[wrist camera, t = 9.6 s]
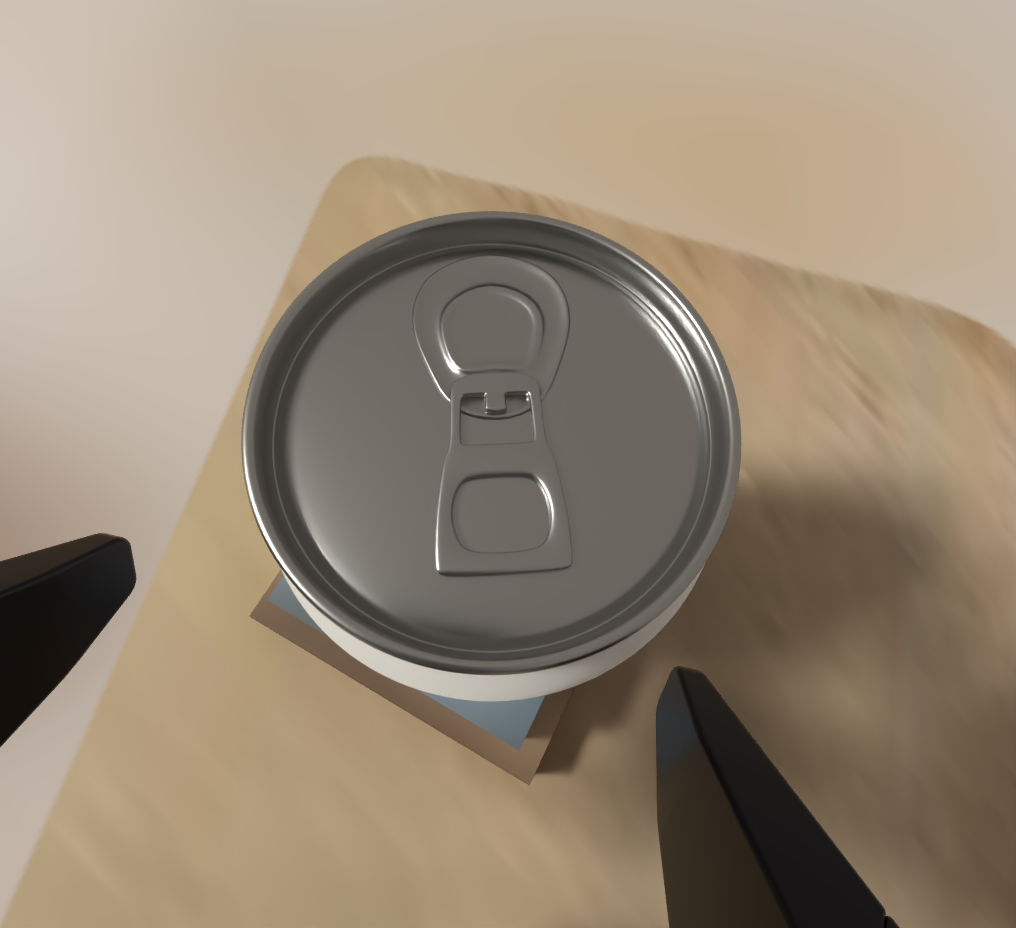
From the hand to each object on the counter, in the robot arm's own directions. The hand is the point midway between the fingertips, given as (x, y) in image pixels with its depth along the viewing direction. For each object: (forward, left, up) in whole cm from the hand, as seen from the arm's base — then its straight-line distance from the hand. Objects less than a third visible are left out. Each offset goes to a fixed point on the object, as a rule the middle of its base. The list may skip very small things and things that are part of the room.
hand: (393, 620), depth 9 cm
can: (+3, 0, -9) cm, 9 cm away
